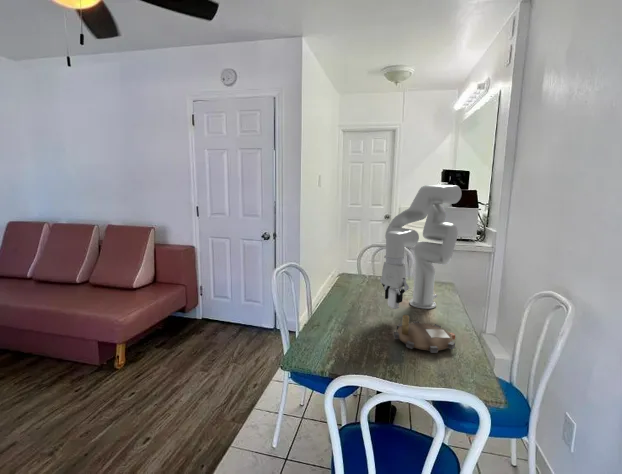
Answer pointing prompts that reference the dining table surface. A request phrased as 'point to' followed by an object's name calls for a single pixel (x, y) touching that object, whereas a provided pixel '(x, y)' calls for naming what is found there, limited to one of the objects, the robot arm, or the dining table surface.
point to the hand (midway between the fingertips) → (393, 299)
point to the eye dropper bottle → (392, 298)
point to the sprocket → (424, 336)
